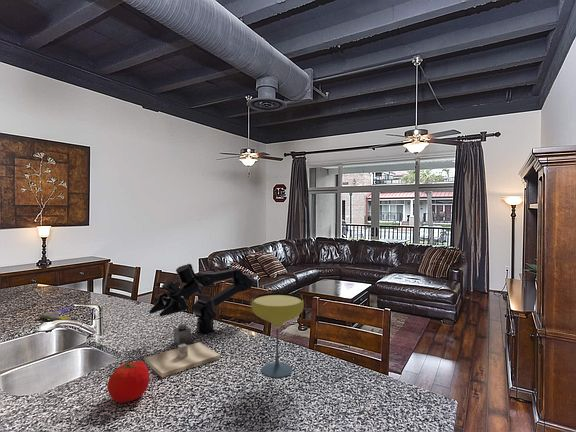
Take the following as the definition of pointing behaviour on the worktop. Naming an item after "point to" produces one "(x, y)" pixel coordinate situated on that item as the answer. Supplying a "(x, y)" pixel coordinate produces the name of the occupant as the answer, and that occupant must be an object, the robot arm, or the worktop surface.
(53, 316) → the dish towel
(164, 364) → the board
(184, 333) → the socket
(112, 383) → the tomato
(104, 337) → the worktop surface
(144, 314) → the worktop surface
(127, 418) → the worktop surface
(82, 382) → the worktop surface
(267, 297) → the cocktail glass
